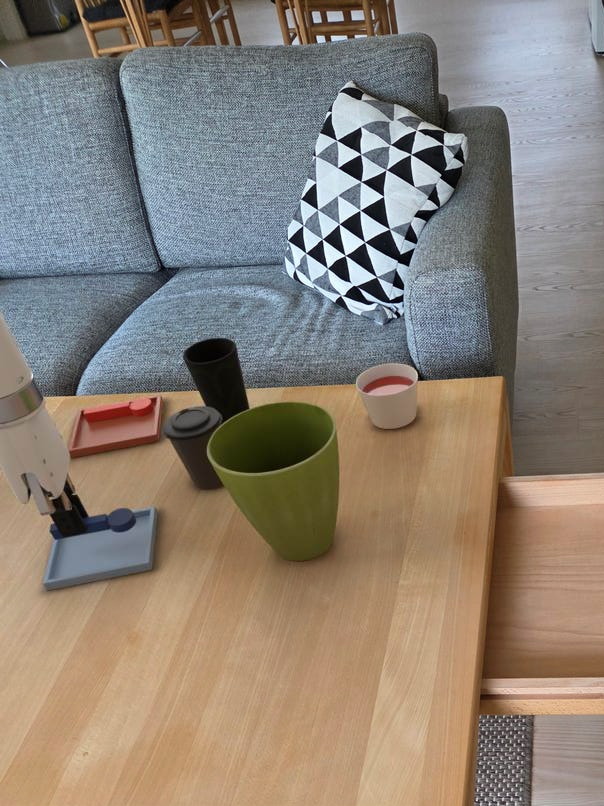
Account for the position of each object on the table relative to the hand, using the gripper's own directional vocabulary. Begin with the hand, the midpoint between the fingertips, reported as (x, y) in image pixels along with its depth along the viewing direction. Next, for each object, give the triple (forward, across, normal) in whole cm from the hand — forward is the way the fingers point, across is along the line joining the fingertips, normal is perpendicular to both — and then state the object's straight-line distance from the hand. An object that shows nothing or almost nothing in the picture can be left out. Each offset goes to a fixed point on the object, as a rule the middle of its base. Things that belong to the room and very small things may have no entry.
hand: (76, 527), depth 110 cm
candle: (+5, -19, +43) cm, 47 cm away
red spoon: (+4, -35, +1) cm, 35 cm away
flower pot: (+5, +7, +28) cm, 29 cm away
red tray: (+4, -31, +1) cm, 31 cm away
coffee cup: (+5, -12, +16) cm, 20 cm away
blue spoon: (+1, 0, +2) cm, 2 cm away
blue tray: (+4, 0, +2) cm, 5 cm away
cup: (+5, -26, +19) cm, 32 cm away
